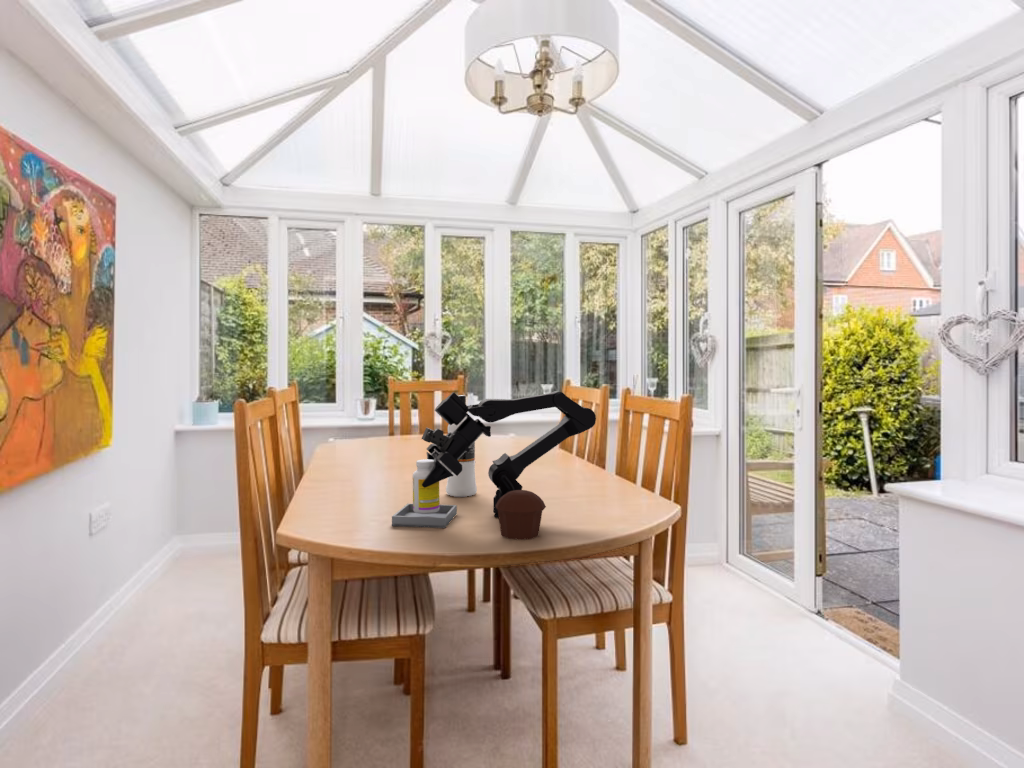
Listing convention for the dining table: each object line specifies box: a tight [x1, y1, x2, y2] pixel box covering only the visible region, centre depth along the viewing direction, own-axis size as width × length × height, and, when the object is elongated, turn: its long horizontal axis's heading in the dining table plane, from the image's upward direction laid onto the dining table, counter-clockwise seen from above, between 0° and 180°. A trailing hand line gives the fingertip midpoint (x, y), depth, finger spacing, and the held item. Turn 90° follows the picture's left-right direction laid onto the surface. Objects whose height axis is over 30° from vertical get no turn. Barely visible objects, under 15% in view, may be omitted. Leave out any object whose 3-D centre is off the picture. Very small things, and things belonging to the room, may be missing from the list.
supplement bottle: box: [412, 458, 441, 514], centre depth 150 cm, size 7×7×13 cm
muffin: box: [495, 489, 547, 541], centre depth 138 cm, size 12×11×10 cm
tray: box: [391, 503, 458, 529], centre depth 150 cm, size 13×13×2 cm
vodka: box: [445, 394, 478, 498], centre depth 179 cm, size 9×9×30 cm
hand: (420, 483), depth 150 cm, fingers closed on supplement bottle, 7 cm apart
